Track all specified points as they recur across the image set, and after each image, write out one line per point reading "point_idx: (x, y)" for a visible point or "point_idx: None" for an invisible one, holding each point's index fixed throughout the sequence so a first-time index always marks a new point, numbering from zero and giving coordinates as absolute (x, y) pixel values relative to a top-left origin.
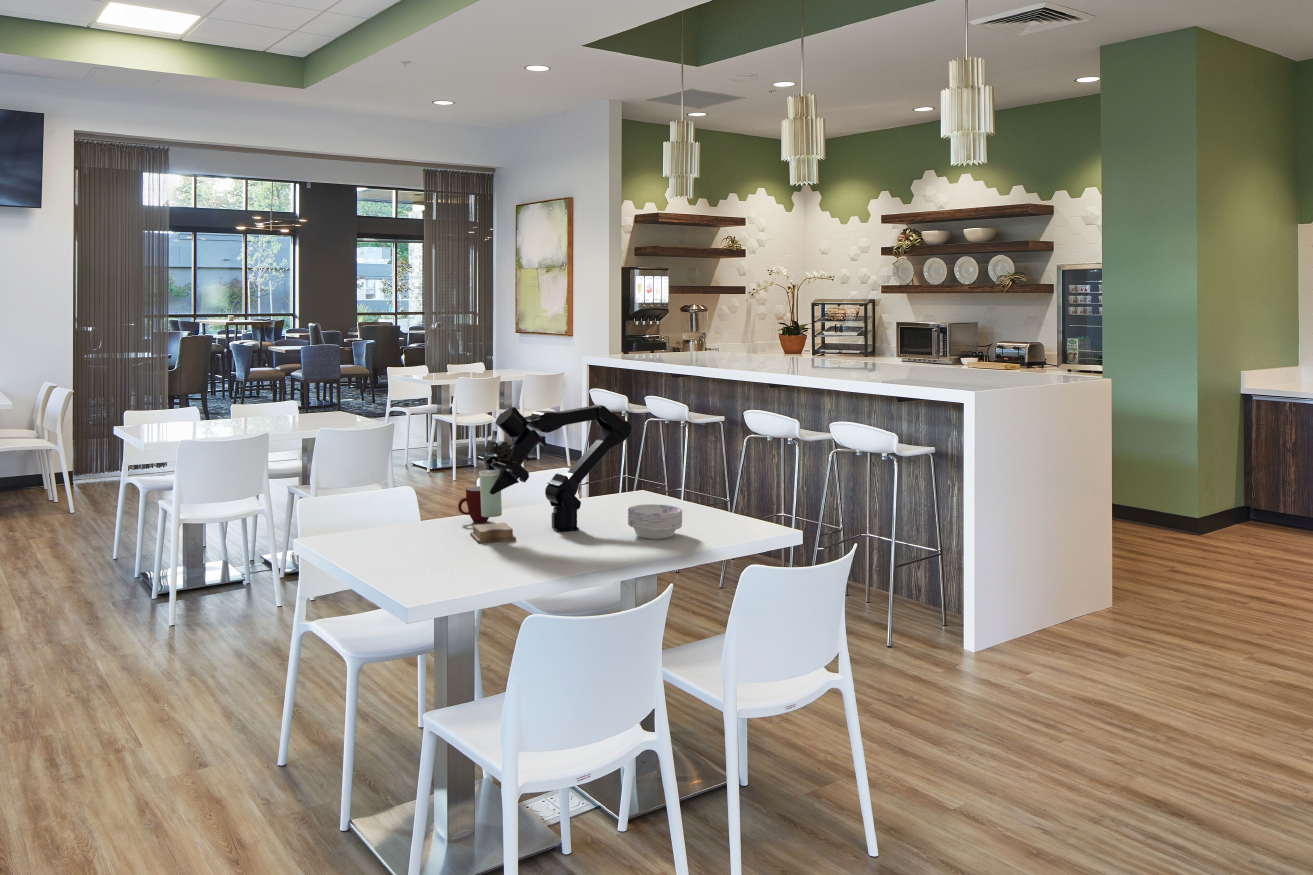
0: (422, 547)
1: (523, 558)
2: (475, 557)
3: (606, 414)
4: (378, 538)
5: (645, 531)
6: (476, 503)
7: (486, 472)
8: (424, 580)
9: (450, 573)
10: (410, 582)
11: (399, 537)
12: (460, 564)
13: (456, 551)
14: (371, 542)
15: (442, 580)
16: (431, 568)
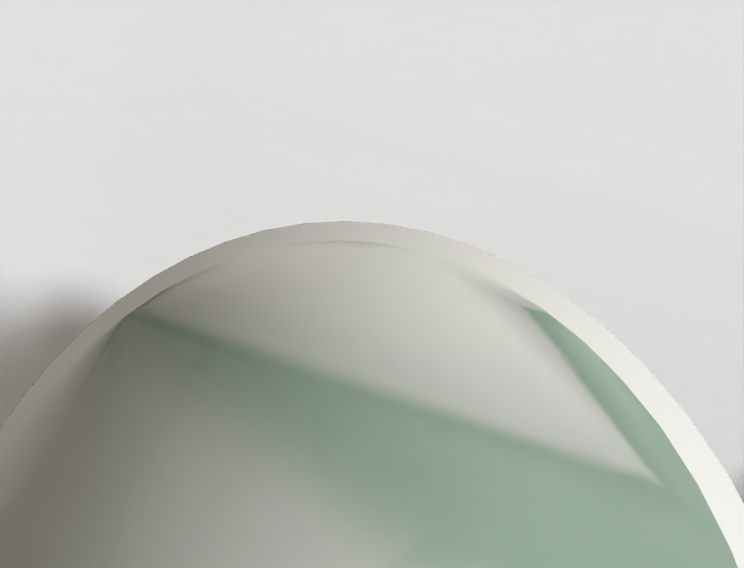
0: (444, 141)
1: (39, 372)
2: (182, 236)
3: None
4: (706, 53)
5: None
6: None
7: (281, 424)
8: (100, 49)
9: (97, 112)
10: (112, 22)
11: (688, 119)
12: (149, 165)
13: (304, 217)
14: (637, 23)
15: (65, 80)
16: (176, 89)
